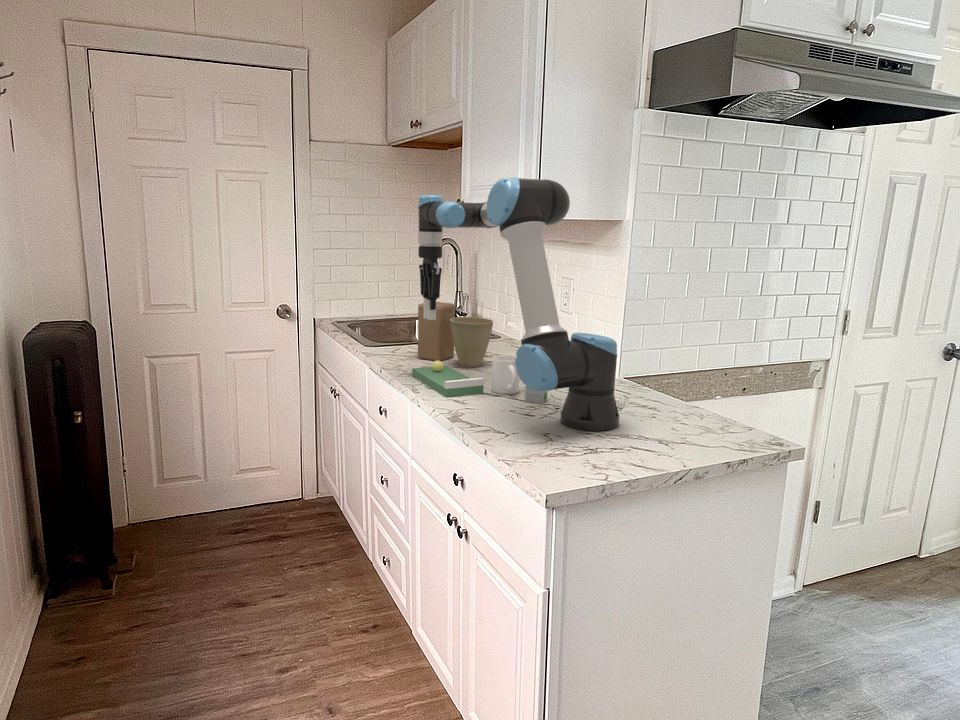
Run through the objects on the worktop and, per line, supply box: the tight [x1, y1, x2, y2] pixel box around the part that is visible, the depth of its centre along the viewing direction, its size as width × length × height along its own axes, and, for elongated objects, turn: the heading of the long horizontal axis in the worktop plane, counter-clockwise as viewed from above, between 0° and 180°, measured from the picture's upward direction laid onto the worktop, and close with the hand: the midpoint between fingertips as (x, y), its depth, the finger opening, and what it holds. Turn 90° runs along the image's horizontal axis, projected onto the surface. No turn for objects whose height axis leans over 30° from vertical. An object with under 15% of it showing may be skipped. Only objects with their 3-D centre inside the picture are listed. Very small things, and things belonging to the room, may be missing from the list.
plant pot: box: [450, 316, 494, 368], centre depth 242 cm, size 15×15×16 cm
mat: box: [411, 365, 485, 398], centre depth 216 cm, size 28×12×4 cm, turn 26°
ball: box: [431, 360, 444, 372], centre depth 222 cm, size 4×4×4 cm
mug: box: [491, 354, 520, 396], centre depth 207 cm, size 12×8×10 cm
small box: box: [523, 385, 548, 404], centre depth 201 cm, size 6×6×5 cm
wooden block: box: [417, 301, 456, 362], centre depth 252 cm, size 10×10×20 cm
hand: (429, 318), depth 225 cm, fingers open, 3 cm apart
